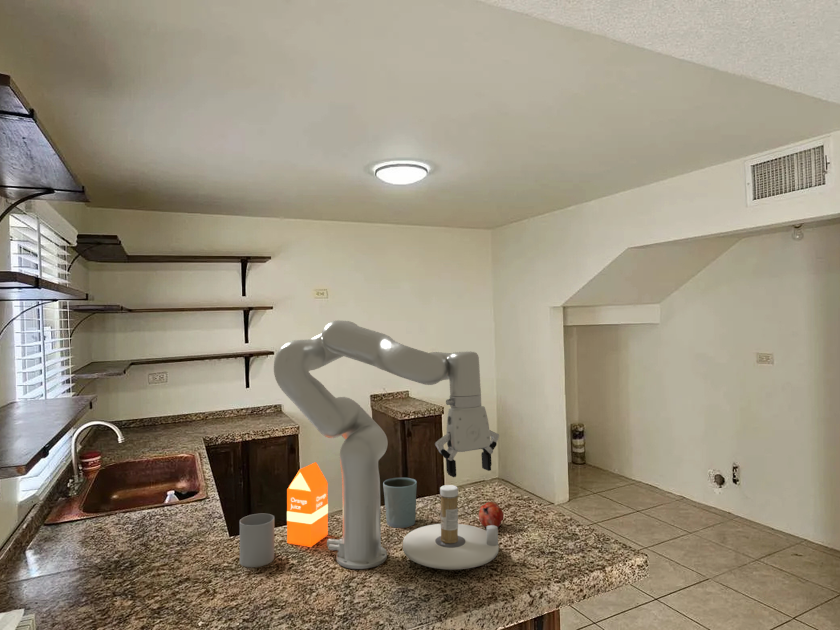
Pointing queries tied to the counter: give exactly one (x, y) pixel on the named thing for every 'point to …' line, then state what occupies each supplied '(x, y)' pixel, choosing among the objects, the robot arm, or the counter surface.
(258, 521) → the cup
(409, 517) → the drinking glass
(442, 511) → the sprinkles bottle
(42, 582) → the counter surface
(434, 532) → the turntable
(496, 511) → the pomegranate
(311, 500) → the orange juice
